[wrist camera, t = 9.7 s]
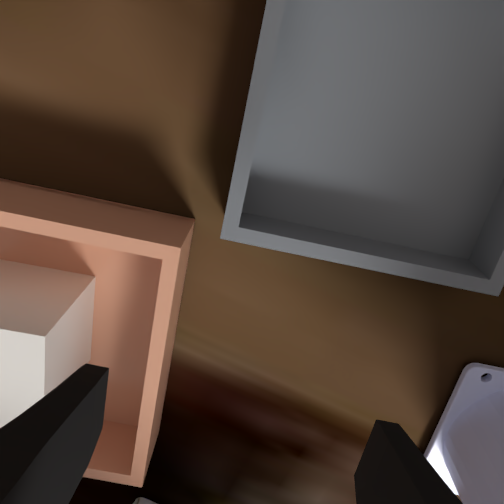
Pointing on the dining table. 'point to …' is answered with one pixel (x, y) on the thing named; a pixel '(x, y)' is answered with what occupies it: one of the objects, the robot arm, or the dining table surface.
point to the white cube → (41, 332)
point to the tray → (377, 138)
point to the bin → (111, 302)
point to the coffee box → (143, 501)
